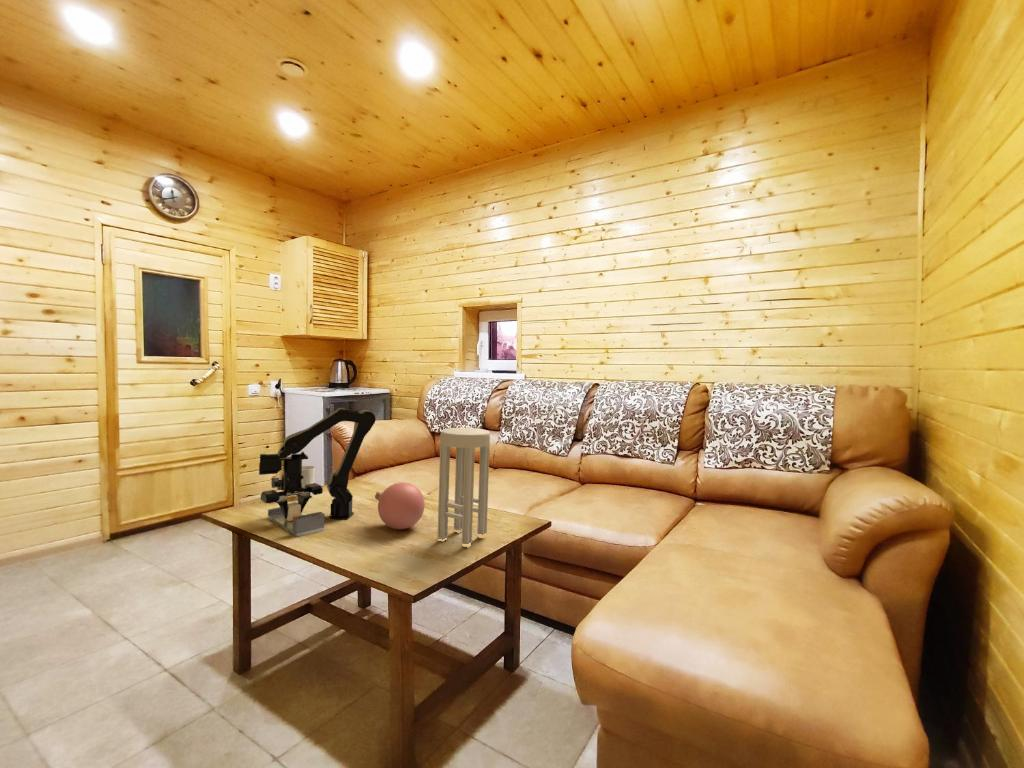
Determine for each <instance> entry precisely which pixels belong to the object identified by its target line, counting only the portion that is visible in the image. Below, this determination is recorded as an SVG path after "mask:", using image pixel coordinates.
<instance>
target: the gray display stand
mask: <svg viewBox="0 0 1024 768" xmlns="http://www.w3.org/2000/svg"><path fill="white" fill-rule="evenodd" d="M267 519H268V520H270V521H272V522H273V523H275V524H276V525H277V526H279V527H281V528H282V529H283V530H285V531H286V532H288V533H289V534H291V535H293V536H294V537H295V538H298V537H302V536H306V535H310V534H311V535H312V534H314V533H315V534H316V533H319V532H324V531H325V513H323V512H322V511H317V512H313V513H309V514H307V513H306V514H302V513H301V516H297V517H293V520H292V521H288V520H286V519H284V516H283V513H282V511H281V508H280V506H279V507H275V508H269V509H267Z"/></svg>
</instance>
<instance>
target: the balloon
mask: <svg viewBox="0 0 1024 768" xmlns="http://www.w3.org/2000/svg"><path fill="white" fill-rule="evenodd" d="M374 498H375V500H376V501H378V503H377V512H378V515H379V518H380V520H381V521H382V522H383V523H384V525H385V526H388V527H389V528H392V529H393V530H406V529H409V528H412V527H413V526H414V525H416V524H417V523H418V522H419V521H420V520H421V518H422V517H423V515H424V511H425V507H426V503H425V498H424V495H423V493H422V491H421V490H420V489H419V488H418V487H417V486H416V485H414V484H411V483H410V482H402V481H401V482H397V483H393V484H391V485H390V486H388V487H387V488H386V489H384V490H383V491H382V492H380V491H376V492H375V495H374Z"/></svg>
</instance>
